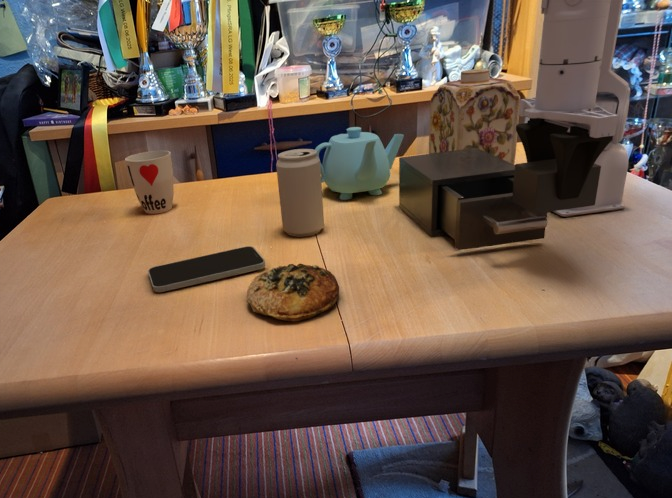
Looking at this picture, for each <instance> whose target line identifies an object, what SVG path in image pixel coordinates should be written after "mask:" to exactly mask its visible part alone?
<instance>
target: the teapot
mask: <svg viewBox="0 0 672 498" xmlns="http://www.w3.org/2000/svg"><path fill="white" fill-rule="evenodd" d="M345 130H346V133H339V134H336V135H333V136H331V137H330V139H329V141H328V142H321V143H320V144H318V145H317V146H316V147H315V149H314V150H316V151H317V154H316V155H317V157H318V158H319V159H320V152H321V151H322V150H323V149H325V148H326V149H325V152H324V155H323V159H322V162H321V161H320V170H321V184H322V183H324V184H325V185H326V186H327V187H328V188H329V189H330V191H331V192H335V193H336V192H337V193H340V194H339V199H340V200H343V201H346V200H351V199H353V193H354V194H355V193H362V192H368V194H369V195H371V196H379V195H382V194H383V191H382V190H381V189H383V188H384V187H385V186H386V185H387V183H388V182H389V180H390V177H391V170H392V167H393V165H394V163H395V160H396V158H397V155H398V152H399V150H400V147H401V144H402V143H403V140H404V137H405V134H402V133H395V134H393V137H392V138H391V139H390V141H389V142H388V144H387V146H386V148H385V147H384V144H383V142H382V140H381V139H380V137H379V135H377V134H376V133H373V132H369V131H362V127H360V126H351V127H348V128H346V129H345Z"/></svg>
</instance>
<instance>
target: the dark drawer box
mask: <svg viewBox="0 0 672 498" xmlns="http://www.w3.org/2000/svg"><path fill="white" fill-rule="evenodd" d="M513 185H514V178H513V177H511V176H505V177H497V178H489V179H482V180H474V181H466V182H459V183H451V184H444V185H438V202H437V225H438V226H439V227H441V228H442V229H443V230H444V231H445V232H446V233H448V235H449V236H450V237H451V238H452V239H453V240H454V249H456V250H457V251H462V250H463V251H464V250H470V249H477V248H485V247H492V246H498V245H505V244H506V245H507V244H514V243H522V242H528V241H534V240H543V239H545V236H546V229H547V227H548V223H549V222H548V212H543V213H536V214H534V213H532V212H530V211H529V210H527V209H525V208H523V207H522V206H520V205H518V204H516V203H514V202H513V201H512V195H513Z"/></svg>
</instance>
